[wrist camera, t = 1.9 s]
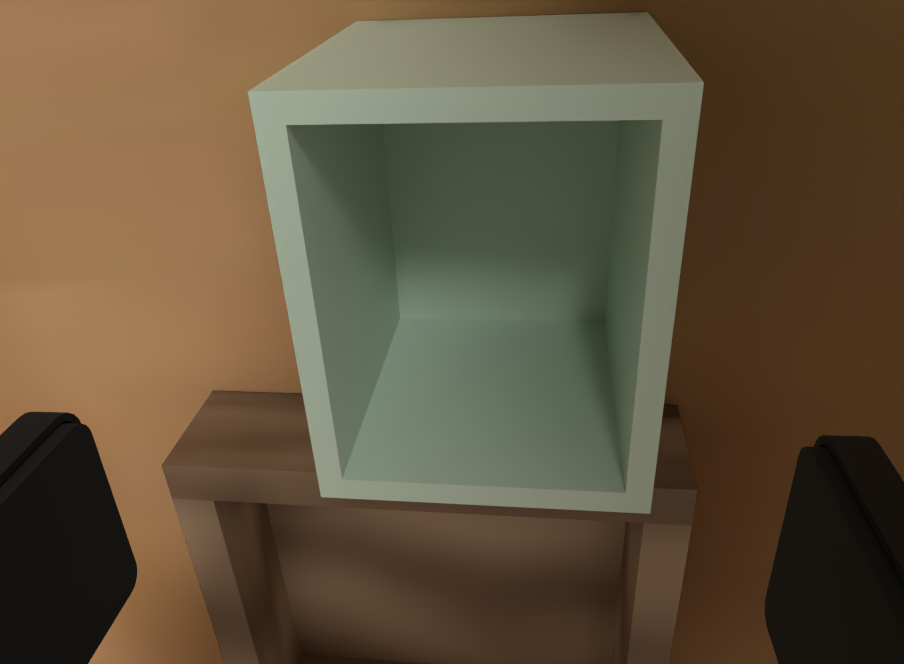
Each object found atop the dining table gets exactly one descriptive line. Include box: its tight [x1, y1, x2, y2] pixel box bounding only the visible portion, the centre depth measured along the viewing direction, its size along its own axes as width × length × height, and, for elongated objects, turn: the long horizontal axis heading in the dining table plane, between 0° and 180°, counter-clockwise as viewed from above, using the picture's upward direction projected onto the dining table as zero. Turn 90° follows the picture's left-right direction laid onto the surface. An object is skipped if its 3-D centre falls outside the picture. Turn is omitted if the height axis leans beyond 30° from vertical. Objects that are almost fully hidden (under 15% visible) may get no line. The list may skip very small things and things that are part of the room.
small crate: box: [248, 12, 704, 514], centre depth 15 cm, size 8×6×7 cm
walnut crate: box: [162, 391, 698, 664], centre depth 24 cm, size 13×14×4 cm
